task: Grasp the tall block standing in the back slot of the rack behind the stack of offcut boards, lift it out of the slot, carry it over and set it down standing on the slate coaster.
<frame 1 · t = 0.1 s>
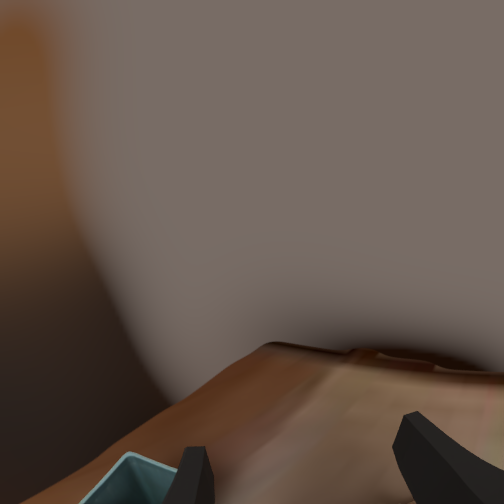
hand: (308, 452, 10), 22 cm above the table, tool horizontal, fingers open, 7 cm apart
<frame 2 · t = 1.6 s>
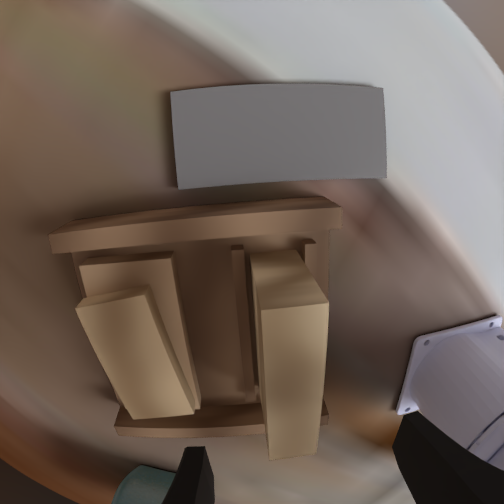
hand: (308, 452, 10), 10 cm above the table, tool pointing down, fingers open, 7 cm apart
tall block: (276, 326, 18), point 1 cm above the table, touching rack
flower pot: (163, 478, 25), on the table
slate coaster: (283, 132, 16), on the table
rack: (206, 323, 19), on the table
offcut board lower: (146, 335, 18), point 1 cm above the table, touching offcut board upper, rack
offcut board upper: (141, 354, 17), point 2 cm above the table, touching offcut board lower
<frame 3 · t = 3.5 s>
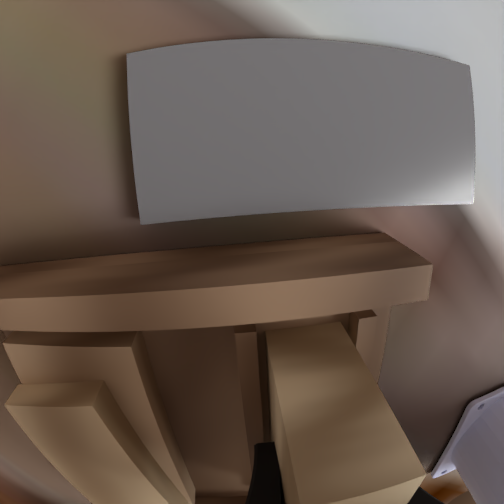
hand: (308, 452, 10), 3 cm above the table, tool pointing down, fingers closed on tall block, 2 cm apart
tall block: (300, 421, 11), point 1 cm above the table, touching gripper, rack
slate coaster: (324, 123, 9), on the table
rack: (198, 412, 12), on the table
offcut board lower: (114, 428, 11), point 1 cm above the table, touching offcut board upper, rack
offcut board upper: (107, 456, 10), point 2 cm above the table, touching offcut board lower
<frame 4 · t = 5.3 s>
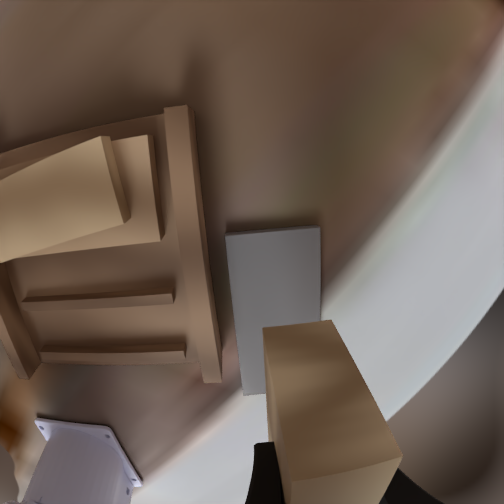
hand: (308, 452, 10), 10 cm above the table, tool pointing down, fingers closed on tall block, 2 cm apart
tall block: (295, 412, 12), point 7 cm above the table, touching gripper
slate coaster: (276, 318, 19), on the table
rack: (89, 255, 17), on the table
offcut board lower: (70, 199, 15), point 1 cm above the table, touching offcut board upper, rack
offcut board upper: (51, 201, 14), point 2 cm above the table, touching offcut board lower
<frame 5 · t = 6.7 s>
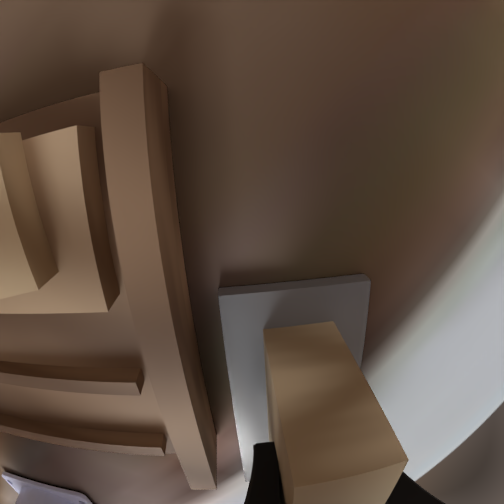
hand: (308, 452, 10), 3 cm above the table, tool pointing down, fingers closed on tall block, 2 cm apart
tall block: (296, 415, 12), point 1 cm above the table, touching gripper, slate coaster
slate coaster: (294, 400, 13), on the table
rack: (24, 310, 10), on the table
when the fingers open (3 cm above the table, at t = 7.4 s): tall block stays where it is, resting on slate coaster.
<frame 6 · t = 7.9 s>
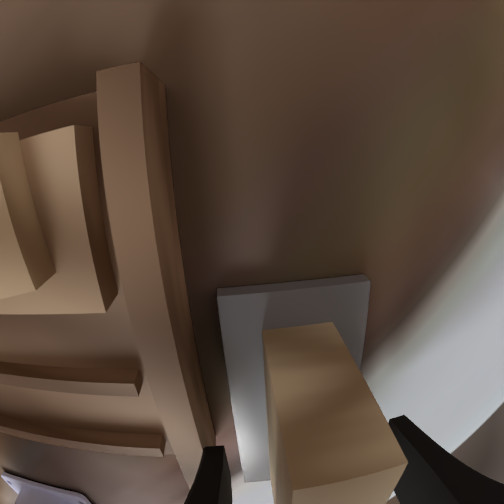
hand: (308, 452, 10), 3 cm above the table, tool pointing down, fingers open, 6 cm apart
tall block: (296, 416, 12), point 1 cm above the table, touching slate coaster
slate coaster: (293, 401, 12), on the table
rack: (22, 310, 10), on the table
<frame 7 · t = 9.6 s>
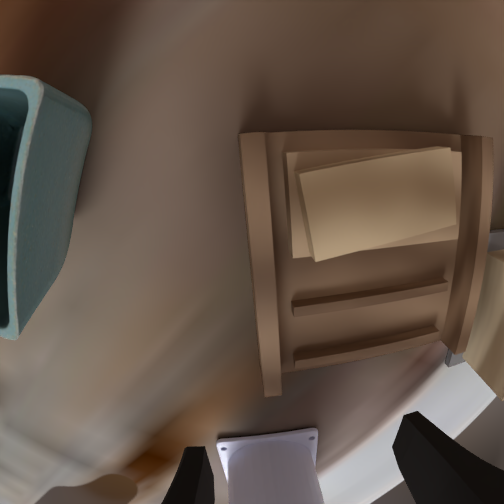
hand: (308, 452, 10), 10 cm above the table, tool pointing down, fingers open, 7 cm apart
tall block: (485, 306, 20), point 1 cm above the table, touching slate coaster
flower pot: (48, 169, 16), on the table
slate coaster: (481, 298, 20), on the table
rack: (369, 252, 18), on the table
offcut board lower: (377, 195, 16), point 1 cm above the table, touching offcut board upper, rack
offcut board upper: (378, 196, 15), point 2 cm above the table, touching offcut board lower
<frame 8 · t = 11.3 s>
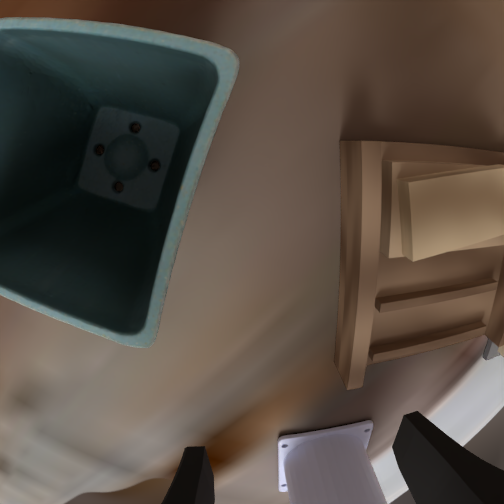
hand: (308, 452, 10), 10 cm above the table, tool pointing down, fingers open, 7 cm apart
flower pot: (131, 156, 16), on the table
rack: (437, 254, 19), on the table
offcut board lower: (451, 204, 17), point 1 cm above the table, touching offcut board upper, rack
offcut board upper: (457, 205, 15), point 2 cm above the table, touching offcut board lower
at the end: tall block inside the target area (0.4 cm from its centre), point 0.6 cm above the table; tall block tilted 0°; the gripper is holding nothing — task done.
